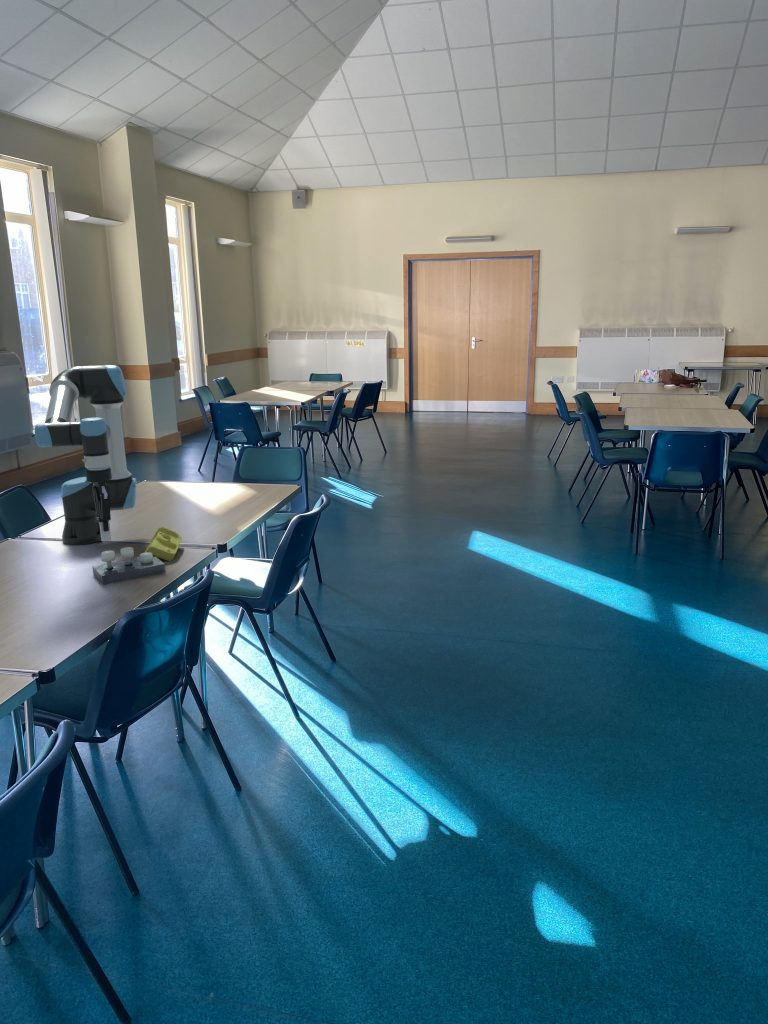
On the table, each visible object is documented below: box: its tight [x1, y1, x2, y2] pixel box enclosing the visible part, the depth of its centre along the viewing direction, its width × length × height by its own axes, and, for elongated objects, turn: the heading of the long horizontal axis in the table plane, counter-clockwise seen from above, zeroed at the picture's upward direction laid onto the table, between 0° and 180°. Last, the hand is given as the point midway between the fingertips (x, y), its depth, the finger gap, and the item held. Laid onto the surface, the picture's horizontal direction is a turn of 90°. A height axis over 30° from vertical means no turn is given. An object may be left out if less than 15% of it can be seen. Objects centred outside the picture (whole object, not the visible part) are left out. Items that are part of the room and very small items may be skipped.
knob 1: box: [100, 550, 116, 569], centre depth 243 cm, size 4×4×5 cm
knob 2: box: [139, 552, 153, 563], centre depth 250 cm, size 4×4×5 cm
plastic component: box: [144, 526, 182, 562], centre depth 267 cm, size 20×7×10 cm
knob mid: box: [119, 546, 135, 565], centre depth 246 cm, size 4×4×5 cm
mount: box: [92, 555, 166, 586], centre depth 247 cm, size 12×20×3 cm, turn 124°
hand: (106, 540), depth 241 cm, fingers closed
